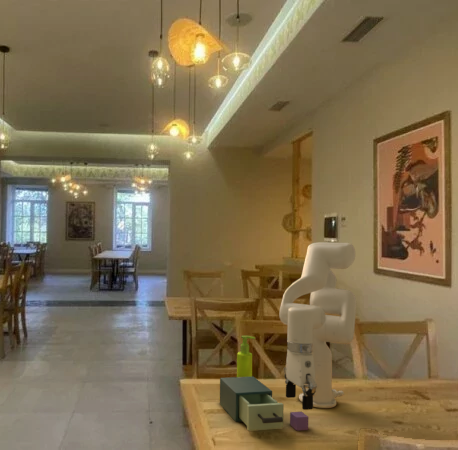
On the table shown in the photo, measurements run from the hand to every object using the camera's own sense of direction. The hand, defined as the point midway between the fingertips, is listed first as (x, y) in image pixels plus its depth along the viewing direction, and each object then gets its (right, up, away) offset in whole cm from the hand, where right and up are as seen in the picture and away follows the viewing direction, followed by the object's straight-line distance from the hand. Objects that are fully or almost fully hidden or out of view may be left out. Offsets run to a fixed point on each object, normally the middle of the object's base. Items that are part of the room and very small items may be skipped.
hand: (298, 402), depth 129 cm
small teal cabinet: (-14, -8, +11) cm, 20 cm away
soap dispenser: (-9, -9, +35) cm, 37 cm away
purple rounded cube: (0, -8, 0) cm, 8 cm away
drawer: (-12, -7, 0) cm, 14 cm away
